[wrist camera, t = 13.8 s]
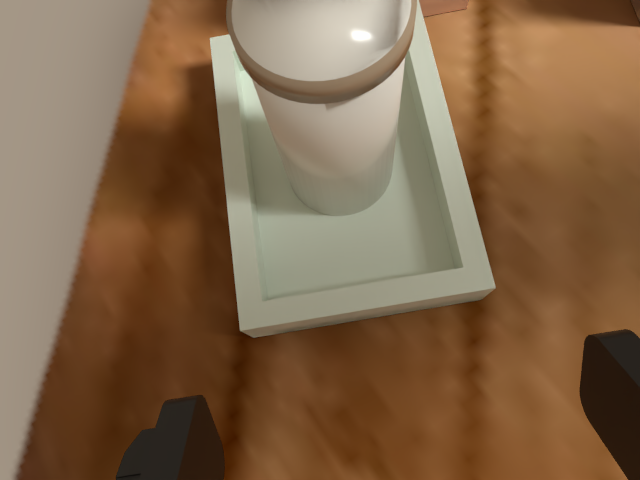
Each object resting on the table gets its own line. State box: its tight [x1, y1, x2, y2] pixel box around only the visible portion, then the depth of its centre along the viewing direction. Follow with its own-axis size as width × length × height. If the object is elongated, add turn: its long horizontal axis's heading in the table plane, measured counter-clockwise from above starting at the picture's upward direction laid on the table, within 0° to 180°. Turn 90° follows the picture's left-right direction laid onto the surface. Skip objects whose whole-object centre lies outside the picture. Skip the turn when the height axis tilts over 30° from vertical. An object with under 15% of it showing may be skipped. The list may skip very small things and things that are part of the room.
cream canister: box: [226, 0, 417, 216], centre depth 18 cm, size 5×5×10 cm
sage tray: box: [210, 0, 496, 338], centre depth 23 cm, size 10×14×2 cm
